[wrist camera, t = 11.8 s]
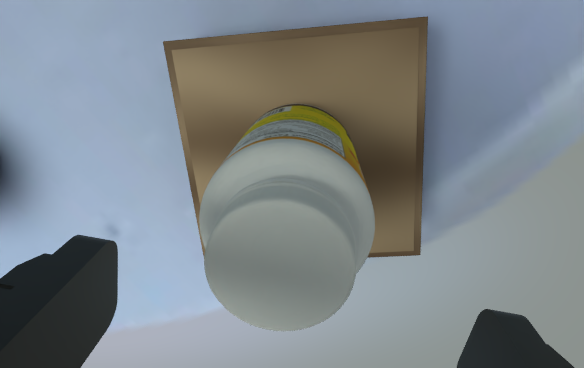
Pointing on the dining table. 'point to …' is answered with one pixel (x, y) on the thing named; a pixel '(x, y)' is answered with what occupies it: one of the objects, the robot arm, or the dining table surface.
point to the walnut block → (320, 93)
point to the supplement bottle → (287, 220)
